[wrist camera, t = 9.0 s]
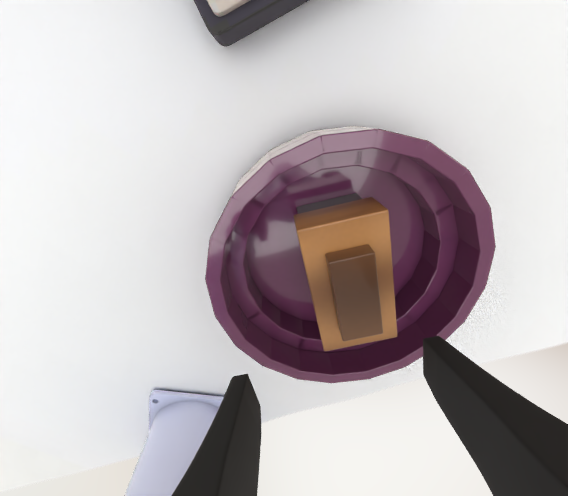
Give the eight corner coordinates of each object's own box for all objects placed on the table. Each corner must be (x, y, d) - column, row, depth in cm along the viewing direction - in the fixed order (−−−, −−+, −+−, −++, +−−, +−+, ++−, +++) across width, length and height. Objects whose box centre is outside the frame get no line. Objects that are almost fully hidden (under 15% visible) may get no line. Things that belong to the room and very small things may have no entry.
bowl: (395, 346, 24) (421, 393, 20) (209, 320, 22) (195, 367, 18) (489, 158, 17) (556, 171, 13) (237, 98, 15) (225, 92, 11)
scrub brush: (372, 292, 20) (405, 350, 15) (313, 305, 21) (327, 366, 16) (360, 186, 17) (398, 216, 12) (290, 203, 17) (298, 238, 12)
